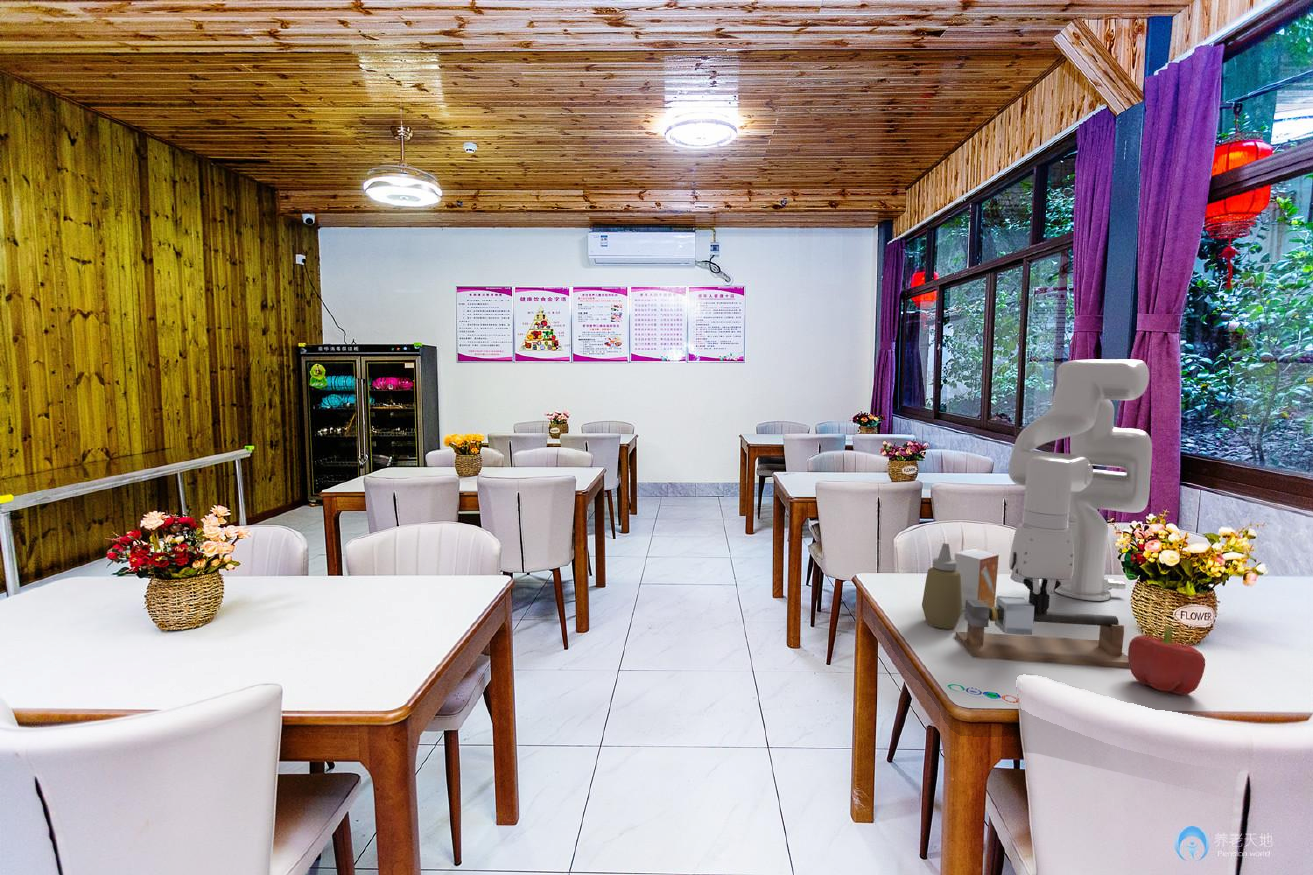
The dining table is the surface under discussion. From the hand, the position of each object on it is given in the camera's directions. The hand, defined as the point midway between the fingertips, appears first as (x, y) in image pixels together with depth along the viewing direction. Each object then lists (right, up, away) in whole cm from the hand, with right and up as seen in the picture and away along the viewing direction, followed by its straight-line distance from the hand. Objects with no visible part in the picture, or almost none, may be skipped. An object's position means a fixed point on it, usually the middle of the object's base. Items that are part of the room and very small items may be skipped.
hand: (1038, 611), depth 122 cm
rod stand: (+1, -8, +1) cm, 8 cm away
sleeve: (-4, -4, +1) cm, 6 cm away
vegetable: (+14, -10, -13) cm, 21 cm away
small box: (0, -6, +24) cm, 25 cm away
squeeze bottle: (-13, -7, +14) cm, 20 cm away
